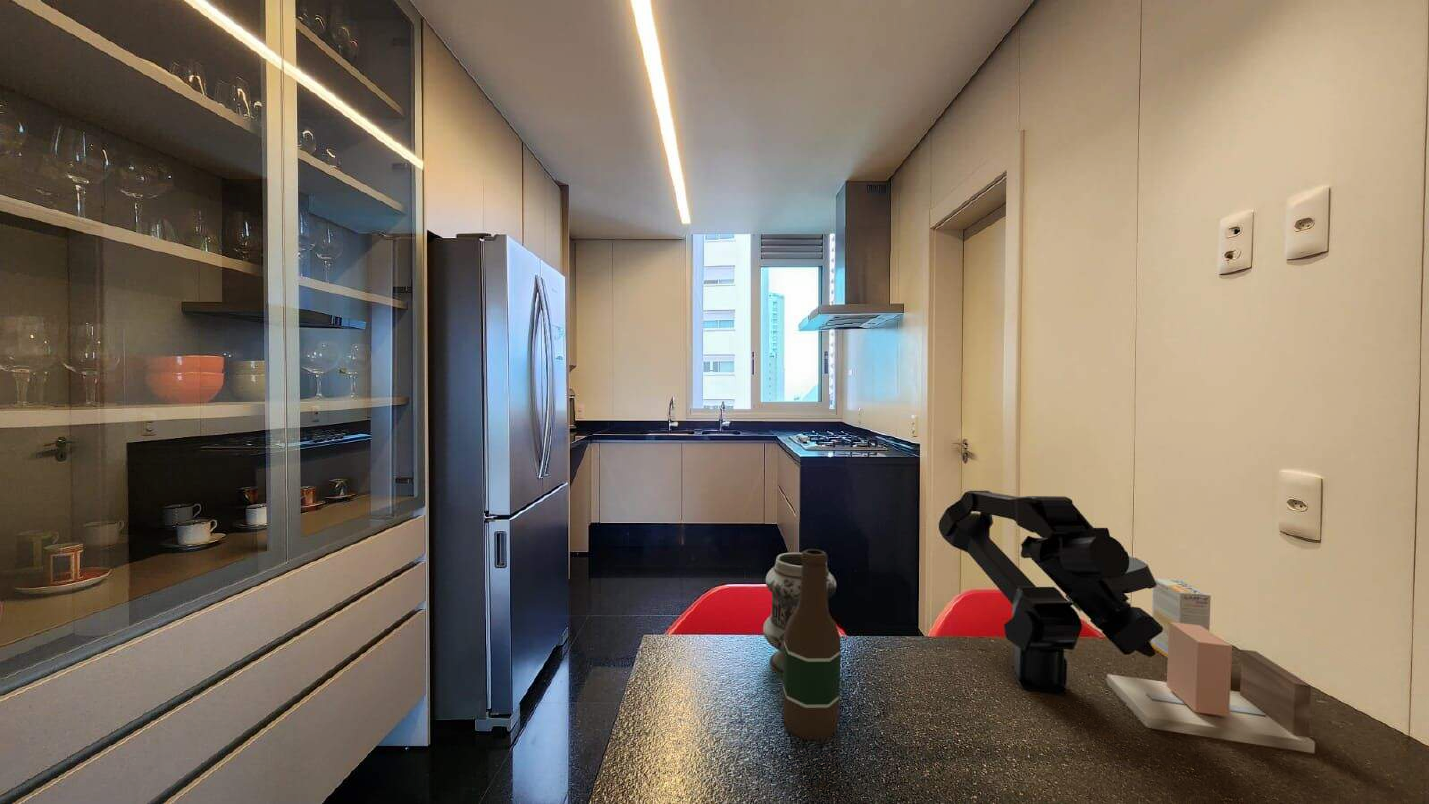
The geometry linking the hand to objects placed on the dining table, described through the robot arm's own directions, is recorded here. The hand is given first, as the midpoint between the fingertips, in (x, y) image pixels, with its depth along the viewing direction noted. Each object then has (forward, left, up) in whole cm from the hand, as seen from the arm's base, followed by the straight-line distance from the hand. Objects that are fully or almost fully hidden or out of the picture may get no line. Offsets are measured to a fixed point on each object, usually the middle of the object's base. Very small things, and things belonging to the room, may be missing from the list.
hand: (1152, 654), depth 80 cm
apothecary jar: (-52, -3, -8) cm, 53 cm away
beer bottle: (-49, -19, -8) cm, 53 cm away
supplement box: (+14, +20, -8) cm, 26 cm away
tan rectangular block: (+6, 0, -6) cm, 8 cm away
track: (+6, 0, -8) cm, 10 cm away
